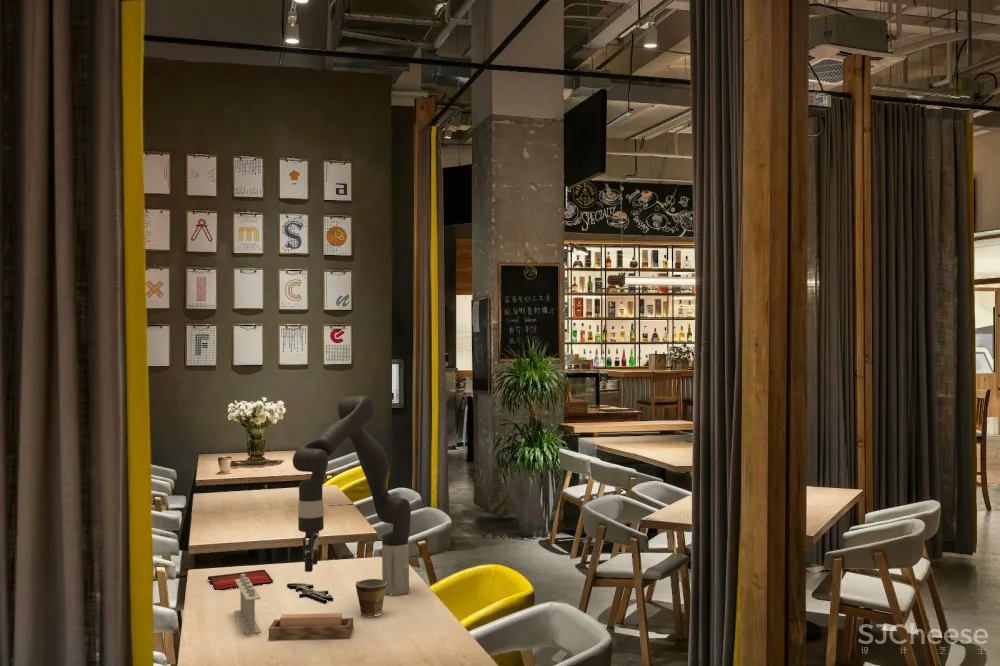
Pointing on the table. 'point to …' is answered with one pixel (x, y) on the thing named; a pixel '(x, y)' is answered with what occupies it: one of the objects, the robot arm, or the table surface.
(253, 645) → the table surface
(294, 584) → the dark angular piece
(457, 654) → the table surface
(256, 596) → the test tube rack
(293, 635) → the shallow wooden tray
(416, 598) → the table surface
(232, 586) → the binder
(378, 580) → the ceramic cup
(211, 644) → the table surface
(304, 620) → the clay strip
